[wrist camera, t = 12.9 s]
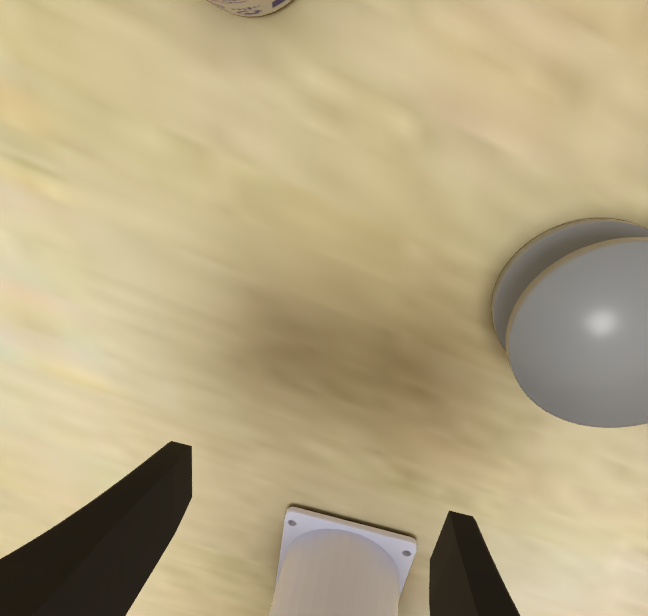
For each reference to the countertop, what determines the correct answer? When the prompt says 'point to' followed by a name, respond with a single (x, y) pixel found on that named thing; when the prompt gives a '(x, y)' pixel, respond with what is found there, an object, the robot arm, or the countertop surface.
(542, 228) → the countertop surface
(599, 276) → the grey yo-yo
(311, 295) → the countertop surface
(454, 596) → the robot arm
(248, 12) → the energy drink
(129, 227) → the countertop surface
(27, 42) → the countertop surface
